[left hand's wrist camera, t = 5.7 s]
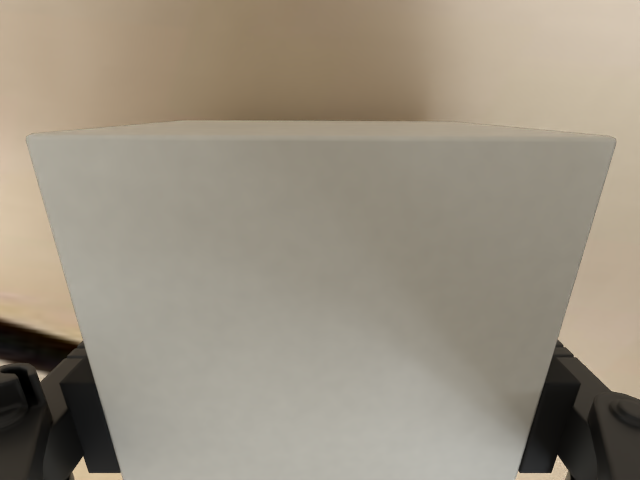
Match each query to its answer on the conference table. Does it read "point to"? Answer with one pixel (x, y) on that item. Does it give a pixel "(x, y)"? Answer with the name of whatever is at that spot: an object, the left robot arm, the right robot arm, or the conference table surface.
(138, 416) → the wide beam
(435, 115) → the conference table surface
